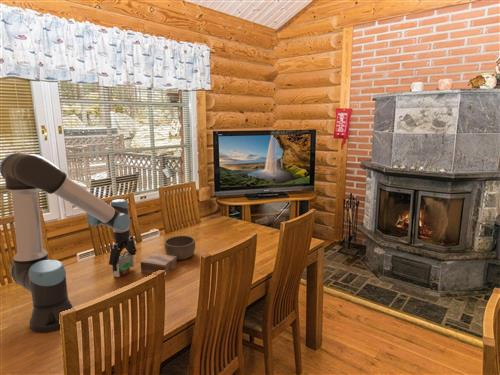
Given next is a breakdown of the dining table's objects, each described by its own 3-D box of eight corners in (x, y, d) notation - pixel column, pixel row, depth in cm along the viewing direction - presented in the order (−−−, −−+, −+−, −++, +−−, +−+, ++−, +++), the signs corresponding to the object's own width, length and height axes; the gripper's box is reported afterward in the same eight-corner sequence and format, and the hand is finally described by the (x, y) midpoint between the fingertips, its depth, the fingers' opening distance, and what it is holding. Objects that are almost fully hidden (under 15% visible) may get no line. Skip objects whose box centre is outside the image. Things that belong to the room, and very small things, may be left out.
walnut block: (165, 276, 169) (164, 265, 167) (141, 272, 173) (140, 261, 172) (176, 266, 180) (176, 256, 179) (154, 263, 184) (153, 253, 183)
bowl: (174, 265, 181) (173, 248, 179) (159, 255, 195) (159, 239, 193) (201, 257, 192) (201, 241, 190) (186, 248, 206) (185, 233, 204)
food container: (123, 280, 165) (122, 260, 163) (112, 278, 166) (110, 259, 164) (136, 269, 177) (135, 251, 175) (126, 268, 178) (125, 250, 176)
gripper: (111, 238, 154) (115, 282, 158) (142, 224, 176) (144, 263, 181) (98, 237, 156) (102, 280, 161) (130, 222, 179) (132, 261, 183)
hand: (124, 271), depth 171 cm, fingers closed on food container, 11 cm apart
